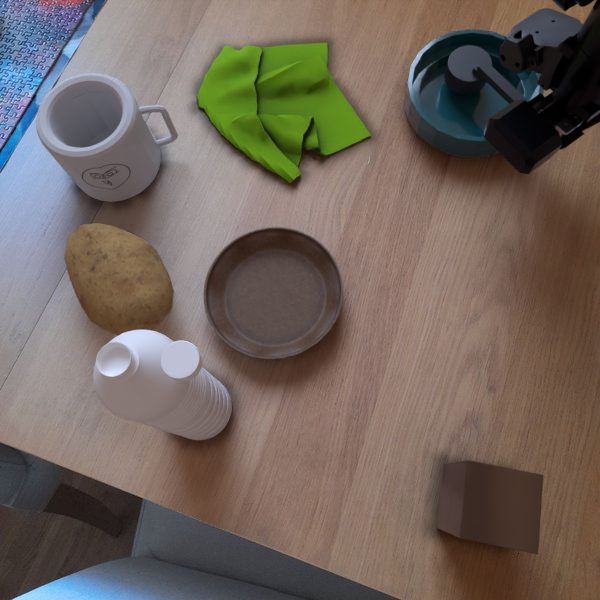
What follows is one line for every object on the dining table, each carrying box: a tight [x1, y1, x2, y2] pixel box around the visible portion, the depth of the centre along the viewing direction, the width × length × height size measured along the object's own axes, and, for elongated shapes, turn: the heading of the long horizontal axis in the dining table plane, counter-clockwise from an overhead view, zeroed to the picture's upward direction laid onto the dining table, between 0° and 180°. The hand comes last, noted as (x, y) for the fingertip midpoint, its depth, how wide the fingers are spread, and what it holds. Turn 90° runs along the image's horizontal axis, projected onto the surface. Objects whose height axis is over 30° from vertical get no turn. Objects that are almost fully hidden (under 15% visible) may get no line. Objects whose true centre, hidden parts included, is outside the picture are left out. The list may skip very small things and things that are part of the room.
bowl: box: [403, 28, 545, 159], centre depth 66 cm, size 15×15×4 cm
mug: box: [35, 72, 179, 203], centre depth 64 cm, size 14×11×10 cm
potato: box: [64, 222, 175, 336], centre depth 60 cm, size 10×14×8 cm
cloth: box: [196, 42, 372, 185], centre depth 68 cm, size 20×22×2 cm
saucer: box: [203, 226, 344, 360], centre depth 61 cm, size 15×15×3 cm
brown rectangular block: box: [436, 459, 544, 555], centre depth 50 cm, size 6×6×10 cm
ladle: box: [444, 45, 529, 104], centre depth 64 cm, size 16×5×4 cm, turn 36°
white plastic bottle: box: [92, 329, 233, 441], centre depth 47 cm, size 9×6×25 cm
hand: (546, 145), depth 62 cm, fingers closed on ladle
